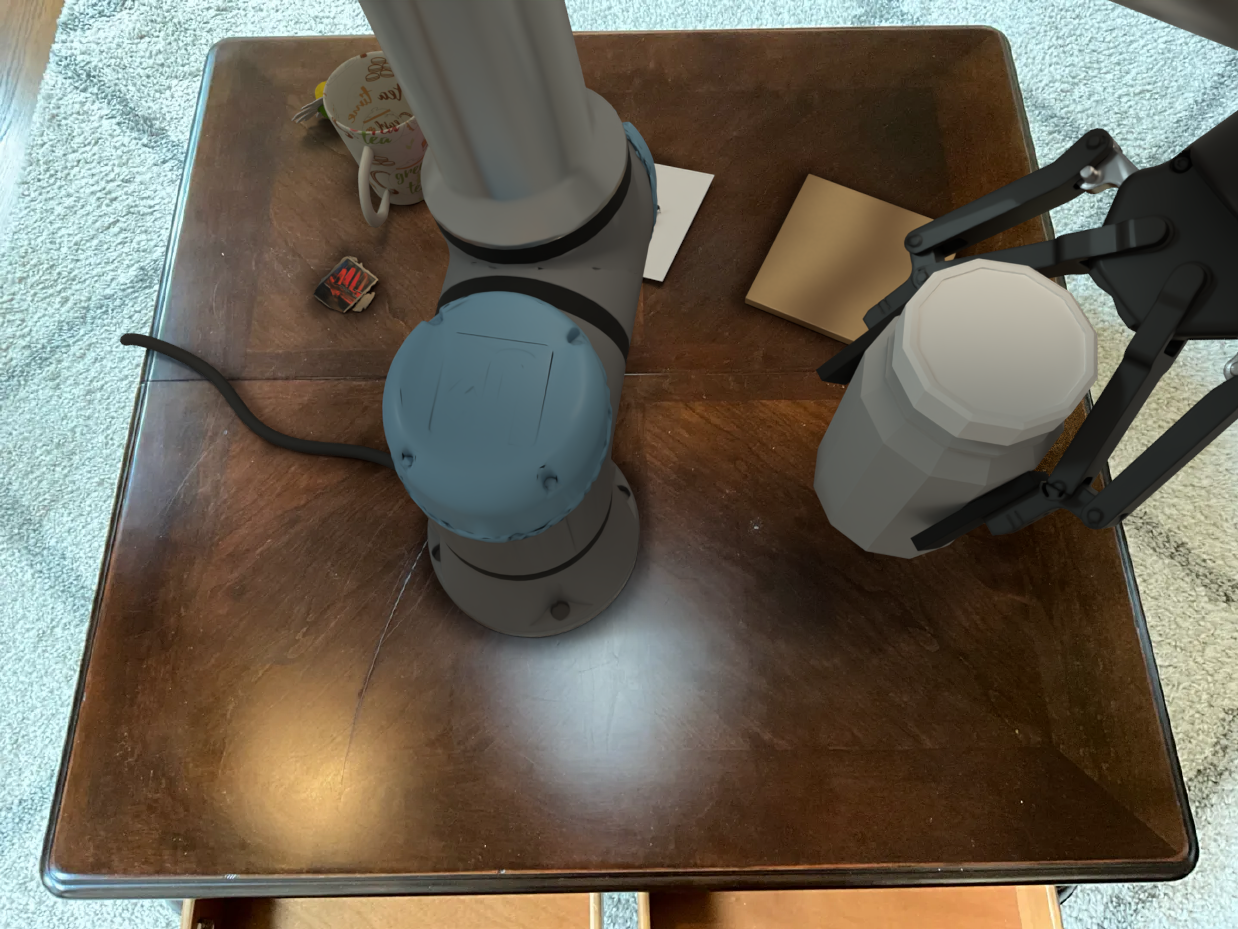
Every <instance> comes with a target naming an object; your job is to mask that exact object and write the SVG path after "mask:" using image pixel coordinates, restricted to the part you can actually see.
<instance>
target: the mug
mask: <svg viewBox="0 0 1238 929" xmlns="http://www.w3.org/2000/svg"><path fill="white" fill-rule="evenodd" d="M326 81H327V82H326V84H325V87H324V91H323V103H324V107H325V110H326V113H327V115H328V117H329V118H330V122H331V124H332V125H333V127H334V128H335V130H336V132H337V133H338V135H339V137H340V138H341V140H342V141H343V143H344V144H345V146H346V148H347V149H348V151H349V152H350V154H351V156H352V158H353V159H354V161H355V162H356V164H357V165H358V167H359V168H358V175H357V178H358V179H357V182H358V195H359V202H360V207H361V211H362V215H363V218H364V220H365V221H366V222H367V224H368V225H369V226H370V227H371V228H374V229H378V228H380V227H381V226H382V225H383V224H384V223H385V222H386V221H387V219H388V217H389V211H390V204H392V205H398V206H409V205H413V204H417V203H420V202H422V201H425V200H424V196H423V192H422V186H421V167H422V162H423V158H424V155H425V152H426V150H427V147H428V143H427V141H426V139H425V137H424V135H423V133H422V131H421V129H420V127H419V125H418V123H417V121H416V119H415V117H414V115H413V113H412V111H411V109H410V106H409V104H408V102H407V100H406V98H405V96H404V94H403V92H402V90H401V88H400V86H399V84H398V82H397V80H396V78H395V76H394V74H393V72H392V70H391V67H390V65H389V63H388V61H387V59H386V57H385V55H384V53H383V51H382V50H378V51H377V50H376V51H370V52H365V53H361V54H357V55H356V56H353V57H351V58H349V59H347V60H345V61H344V62H342V63H341V64H340V65H338V67H336V68H335V69H334V71H332V72H331V74H330V75H329V77H328V78H327V79H326ZM370 187H372V190H373V191H374V192H375V194H377V196H378V197H379V198H380V199H381V201H380V205H379V207H378V210H377V212H376V211H375V210H374V207H373V204H372V199H371V190H370Z"/></svg>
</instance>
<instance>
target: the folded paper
mask: <svg viewBox="0 0 1238 929" xmlns="http://www.w3.org/2000/svg"><path fill="white" fill-rule="evenodd" d="M654 165H655V170H656V176H657V199H658V207H657V219H656V224H655V226H654V232H653V234H652V239H651V241H650V243H649V248H648V253H647V259H646V264H645V269H644V274H643V278H645V279H651V280H655V281H659V282H663V281H664V279H665V277H666V275H667V273H668V271H669V269H670V267H671V265H672V263H673V261H674V259H675V256H676V254H678V251H679V248H680V246H681V244H682V242H683V240H684V239H685V237H686V234H687V233H688V230H689V228H690V226H691V225H692V223H693V220H694V218H695V217H696V214H697V212H698V210H699V208H700V206H701V204H702V202H703V200H704V198H705V196H706V194H707V192H708V190H709V187H710V186H711V184H712V181H713V179H714V177H715V174H711V173H706V172H701V171H697V170H691V169H685V168H680V167H674V166H669V165H665V164H659V163H655V162H654Z"/></svg>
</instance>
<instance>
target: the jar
mask: <svg viewBox="0 0 1238 929" xmlns="http://www.w3.org/2000/svg"><path fill="white" fill-rule="evenodd" d="M1098 337H1099V336H1098V332H1097V331H1096V329H1095V327H1094V326H1093V325H1092V322H1091V321H1090V320H1089V318H1088V316H1087V315H1086V313H1085V312H1084V310H1083V308H1082V307H1081V304H1080V303H1078V301H1077V299H1076V297H1075V296H1074V294H1073V292H1071V291H1069V290H1067V289H1066V288H1064V287H1063V286H1061V285H1060V284H1058V283H1056V282H1055V281H1053V280H1051V278H1049V279H1048V278H1047V277H1045V276H1043V275H1042V274H1040V273H1039V272H1037V271H1035V270H1034V269H1032V268H1031V267H1029V266H1025V265H1018V264H1012V263H1005V262H998V261H992V260H985V259H975V260H972V261H969V262H966V263H962V264H959V265H956V266H953V267H950V268H946V269H943V270H940V271H937V272H934V273H933V274H932V275H931V276H930V277H929V279H928V280H927V281H926V282H925V283H924V284H923V286H922V287H921V288H920V289H919V290H918V291H917V292H916V294H915V295H914V296H913V297H912V298H911V299H910V300H909V302H908V303H907V304H906V306H905V307H904V309H903V311H902V313H901V315H900V316H897V317H895V318H894V319H893V320H892V321H891V322H890V323H889V325H888V326H887V327H886V328H885V329H884V330H883V331H882V333H881V334H880V335H879V336H878V337H877V338H876V340H875V341H874V342H873V343H872V344H871V345H870V346H869V348H868V349H867V350H866V351H865V353H864V355H863V357H862V359H861V361H860V363H859V365H858V367H857V369H856V371H855V374H854V376H853V378H852V380H851V382H850V383H848V385H847V388H846V390H845V392H844V393H843V396H842V398H841V400H840V402H839V404H838V406H837V408H836V411H835V412H834V414H833V417H832V419H831V421H830V423H829V425H828V427H827V428H826V430H825V433H824V435H823V437H822V439H821V441H820V443H819V445H818V447H817V452H816V460H815V469H814V478H813V485H812V486H813V489H814V491H815V494H816V496H817V498H818V500H819V502H820V504H821V506H822V509H823V511H824V513H825V515H826V517H827V519H828V522H829V524H830V525H831V526H832V527H834V528H835V530H837V531H839V532H840V533H841V534H843V535H844V536H846V537H847V538H848V539H849V540H851V541H852V542H853V543H854V544H856V545H857V546H859V547H860V548H861V549H863V550H864V551H865V552H869V553H874V554H880V555H885V556H886V555H887V556H891V557H897V558H903V559H908V560H910V559H913V558H916V557H919V556H921V555H925V554H927V553H928V554H929V553H931V552H933V551H936V550H939V549H942V548H945V547H947V546H950V545H951V544H952V543H953V542H954V541H955V540H953V541H951V542H950V543H948V544H946V545H944V546H942V547H941V548H938V549H931V550H924V551H917V549H916V547H915V546H914V544H913V542H912V540H911V539H910V538H911V537H913V536H915V535H916V534H918V533H920V532H922V531H923V530H925V529H927V528H929V527H930V526H932V525H934V524H936V523H938V522H939V521H941V520H943V519H945V518H946V517H948V516H950V515H952V514H953V513H955V512H957V511H959V510H960V509H962V508H964V507H966V506H967V505H969V504H971V503H973V502H974V501H976V500H978V499H980V498H981V497H983V496H985V495H987V494H988V493H990V492H992V491H994V490H995V489H997V488H999V487H1001V486H1002V485H1004V484H1006V483H1008V482H1009V481H1011V480H1013V479H1015V478H1016V477H1018V476H1020V475H1022V474H1023V473H1025V472H1027V471H1035V470H1036V468H1037V467H1038V466H1039V465H1040V463H1041V462H1042V461H1043V460H1044V458H1045V456H1046V455H1047V454H1048V453H1049V451H1050V450H1051V449H1052V448H1053V446H1054V445H1055V444H1056V442H1057V441H1058V439H1059V438H1060V436H1062V434H1063V433H1064V431H1065V420H1066V419H1068V417H1070V416H1071V415H1072V413H1073V412H1074V411H1075V409H1076V408H1077V407H1078V405H1079V404H1080V403H1081V402H1082V400H1083V399H1084V398H1085V396H1086V395H1087V394H1088V393H1089V391H1090V390H1091V389H1092V387H1093V386H1094V384H1095V383H1096V382H1097V381H1098V379H1099V358H1098V357H1099V356H1098V355H1099V354H1098V352H1099V351H1098V350H1099V348H1098V347H1099V345H1098V343H1099V342H1098Z"/></svg>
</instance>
